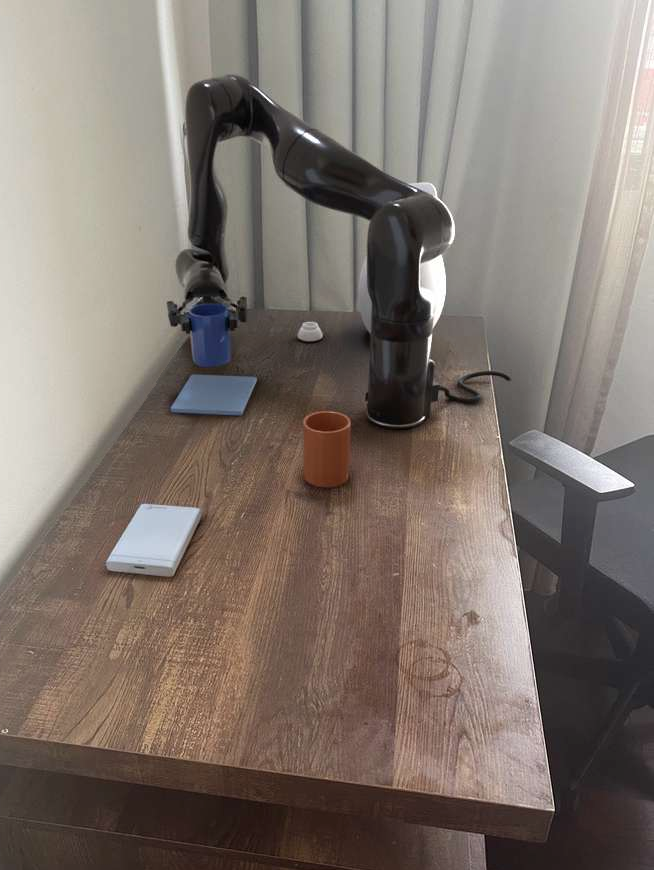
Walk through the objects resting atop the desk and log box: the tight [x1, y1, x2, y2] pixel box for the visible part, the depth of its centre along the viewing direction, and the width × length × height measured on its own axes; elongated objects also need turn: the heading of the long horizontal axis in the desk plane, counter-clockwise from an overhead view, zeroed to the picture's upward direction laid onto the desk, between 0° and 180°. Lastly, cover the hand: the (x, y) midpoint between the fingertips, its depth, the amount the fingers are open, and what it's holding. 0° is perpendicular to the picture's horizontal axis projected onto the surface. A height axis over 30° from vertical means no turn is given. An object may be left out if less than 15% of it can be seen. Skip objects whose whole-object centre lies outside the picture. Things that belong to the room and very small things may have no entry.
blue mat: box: [169, 374, 258, 417], centre depth 127 cm, size 14×12×1 cm
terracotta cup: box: [302, 410, 352, 488], centre depth 102 cm, size 6×6×8 cm
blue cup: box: [188, 303, 232, 368], centre depth 122 cm, size 6×6×8 cm
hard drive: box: [105, 503, 202, 578], centre depth 91 cm, size 2×8×12 cm
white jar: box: [297, 321, 323, 342], centre depth 149 cm, size 5×3×5 cm
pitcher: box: [357, 181, 447, 334], centre depth 139 cm, size 24×17×28 cm
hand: (210, 326), depth 118 cm, fingers closed on blue cup, 6 cm apart
